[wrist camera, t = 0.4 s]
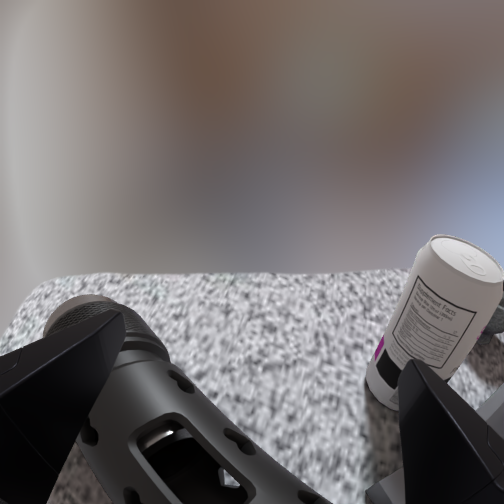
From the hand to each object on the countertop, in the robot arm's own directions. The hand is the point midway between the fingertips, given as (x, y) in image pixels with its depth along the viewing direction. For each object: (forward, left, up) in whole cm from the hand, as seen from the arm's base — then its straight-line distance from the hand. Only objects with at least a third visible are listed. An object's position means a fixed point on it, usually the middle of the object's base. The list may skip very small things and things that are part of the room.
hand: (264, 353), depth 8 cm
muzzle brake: (-1, +3, -17) cm, 17 cm away
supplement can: (+10, -16, -17) cm, 25 cm away
